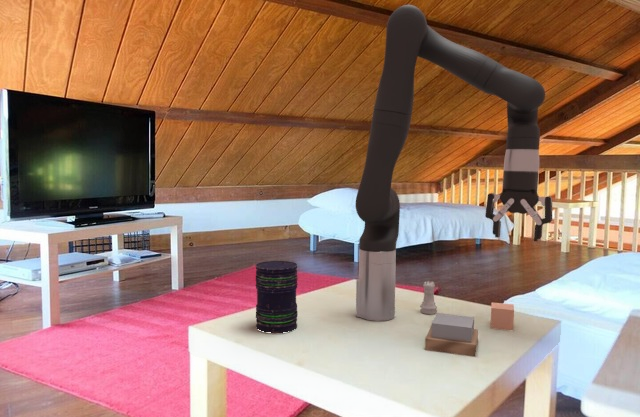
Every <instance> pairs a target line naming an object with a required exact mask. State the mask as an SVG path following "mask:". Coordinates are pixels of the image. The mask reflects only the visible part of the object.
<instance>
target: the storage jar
mask: <svg viewBox="0 0 640 417" xmlns="http://www.w3.org/2000/svg"><path fill="white" fill-rule="evenodd" d="M255 269H256V270H255V290H256V304H255V319H256V320H255V322H256V325H255V328H256V327H257V328H256V330H257V329H259V330H261V331H264V332H271V333H282V334H284V333H283V332H288V331H291V332H293V331H292V330H294V329H295V330H296V329H297V328H298V323H297V321H298V317H299V316H298V303H297V289H298V270H297V269H298V263H296V262H293V261H285V260H269V261H268V260H267V261H262V262H258V263H256V264H255ZM295 330H294V331H295ZM288 333H289V332H288Z"/></svg>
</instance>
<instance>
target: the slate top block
mask: <svg viewBox="0 0 640 417" xmlns="http://www.w3.org/2000/svg"><path fill="white" fill-rule="evenodd" d="M430 327H431V337H434V338H442V339H449V340H457V341H465V342H471V341H472V337H473V332H474V329H475V316H471V315H460V314H451V313H444V312H441V313H440V312H436V314H435V316H434V317H433V320H432V321H431V324H430Z"/></svg>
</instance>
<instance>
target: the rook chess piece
mask: <svg viewBox="0 0 640 417" xmlns="http://www.w3.org/2000/svg"><path fill="white" fill-rule="evenodd" d="M422 287H423V289H424V290H423V301H422V302H421V304H420V309H419V311H420V313H421V314H424V315H436V314H437V313H438V310H437V309H438V305H436V302H435V294H434V293H435V290H434V289H435V288H436V285H435V281H429V280H427V281H424V282H423V285H422Z"/></svg>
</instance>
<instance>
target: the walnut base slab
mask: <svg viewBox="0 0 640 417" xmlns="http://www.w3.org/2000/svg"><path fill="white" fill-rule="evenodd" d="M478 336H479V329H477V328H476V329H475V328H474V332H473V337H472V341H471V342H465V341H457V340H449V339H442V338H434V337H431V326H429V329H428V332H427V334H426V336H425V340H424V350H425V351H428V352H429V351H430V352H437V353H438V352H439V353H447V354H453V355H454V354H455V355H458V356H459V355H461V356H468V357H474V358H476V356H477V355H476V354H477V347H478V340H479V339H478V338H479V337H478Z"/></svg>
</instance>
